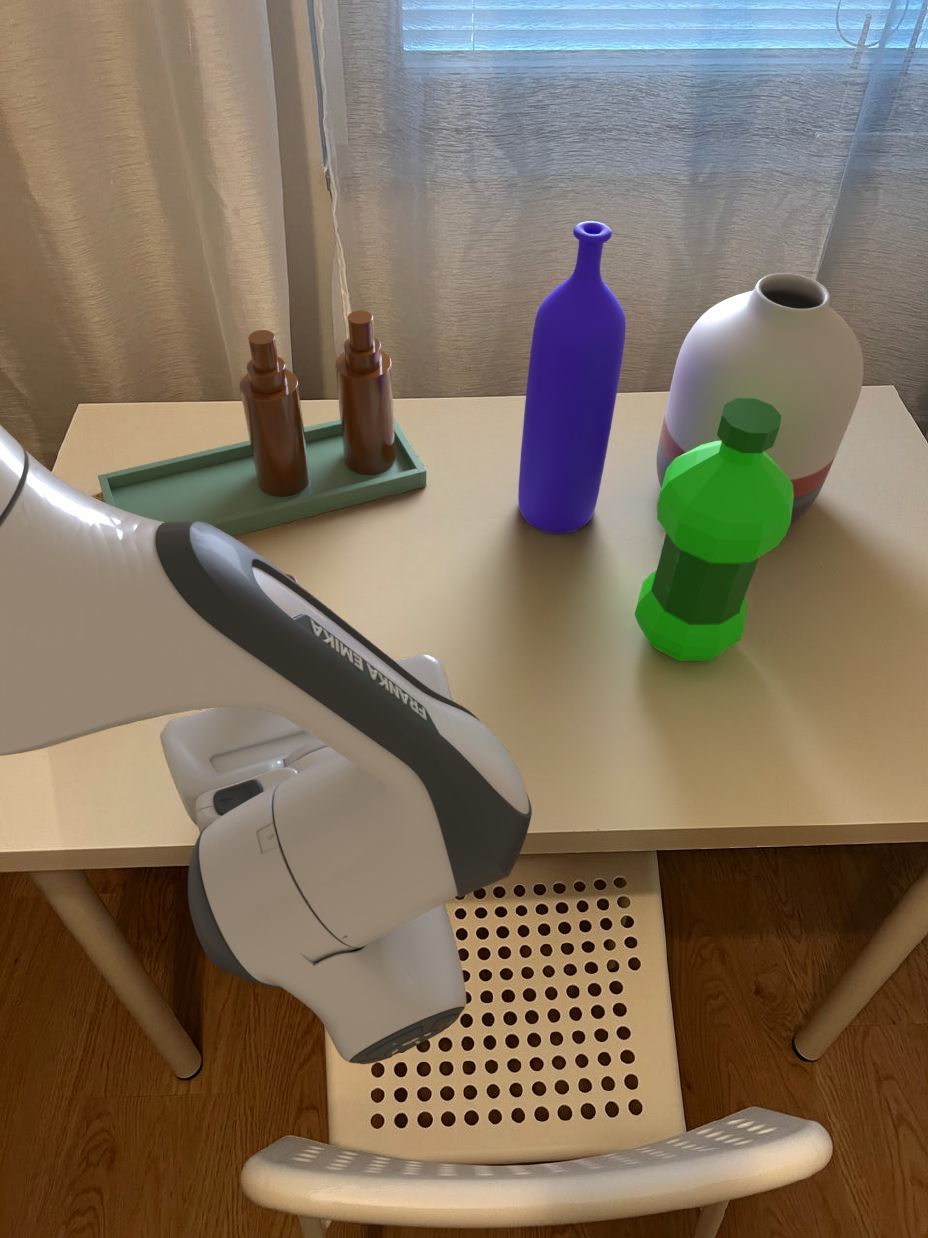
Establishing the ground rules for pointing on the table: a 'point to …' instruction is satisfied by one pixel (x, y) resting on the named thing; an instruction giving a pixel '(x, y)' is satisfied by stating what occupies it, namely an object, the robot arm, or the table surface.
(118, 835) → the table surface
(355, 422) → the row bottle
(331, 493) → the tray
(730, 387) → the vase
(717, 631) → the plastic bottle
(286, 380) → the row bottle
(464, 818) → the robot arm
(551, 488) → the bottle
